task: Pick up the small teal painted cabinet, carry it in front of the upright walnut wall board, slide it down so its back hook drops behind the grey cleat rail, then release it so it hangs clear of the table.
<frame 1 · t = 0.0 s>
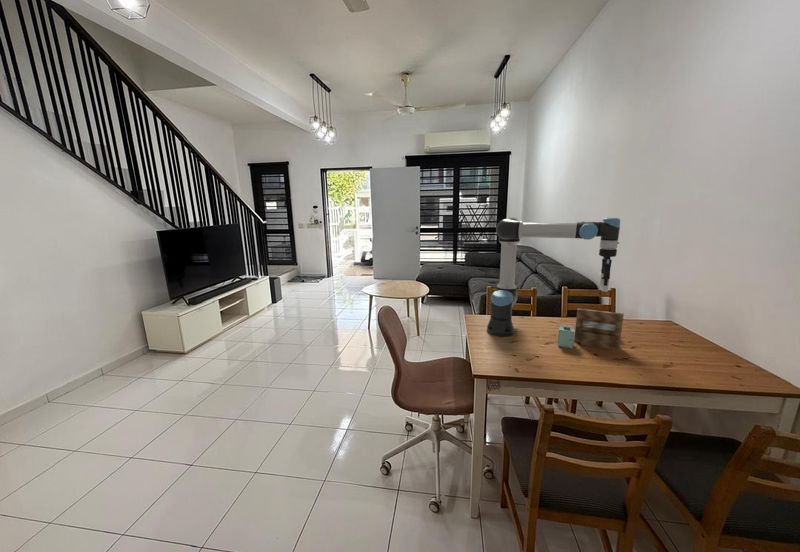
hand: (603, 288, 167), 28 cm above the table, fingers open, 13 cm apart
wall board: (596, 344, 165), on the table
cabinet: (565, 345, 165), on the table
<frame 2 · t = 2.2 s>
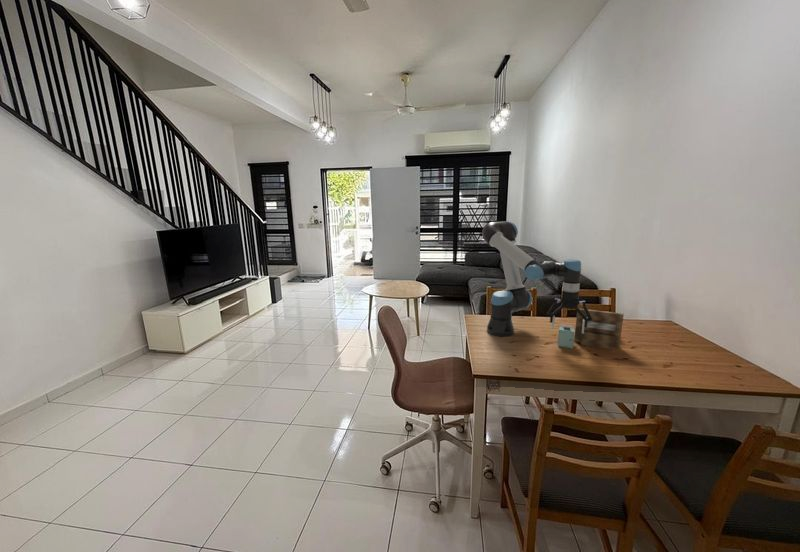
hand: (567, 330, 163), 8 cm above the table, fingers open, 13 cm apart
nothing on the table moved.
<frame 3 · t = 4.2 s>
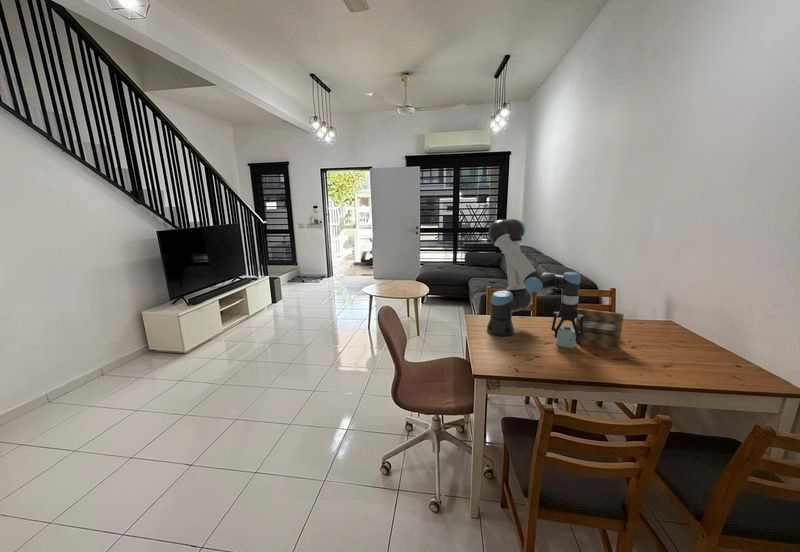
hand: (565, 344, 165), 0 cm above the table, fingers closed on cabinet, 7 cm apart
cabinet: (565, 345, 165), on the table, touching gripper
everything else where it was.
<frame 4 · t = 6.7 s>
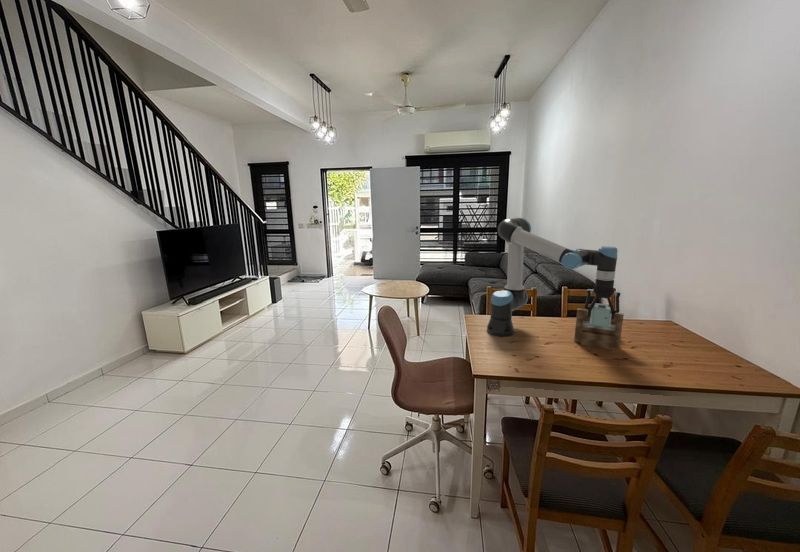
hand: (599, 324, 157), 14 cm above the table, fingers closed on cabinet, 7 cm apart
cabinet: (599, 324, 157), point 13 cm above the table, touching gripper
everything else where it was.
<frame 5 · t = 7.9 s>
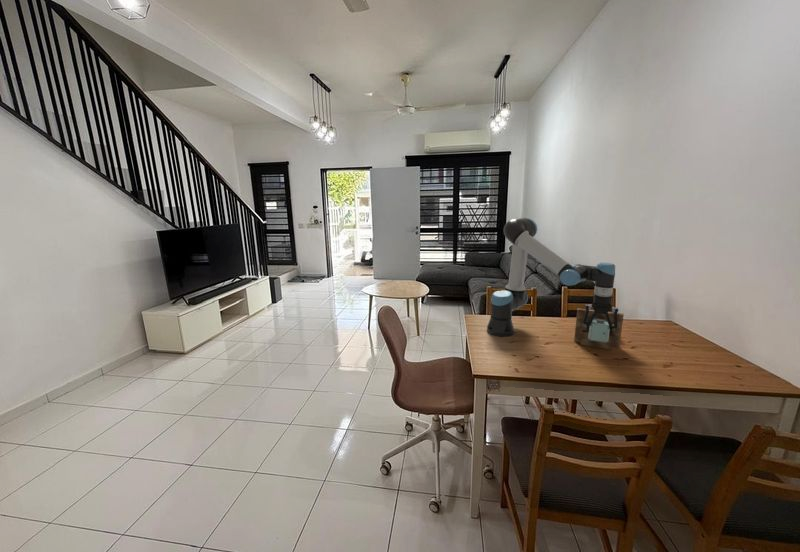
hand: (598, 339, 158), 6 cm above the table, fingers closed on cabinet, 7 cm apart
cabinet: (597, 339, 159), point 5 cm above the table, touching gripper
everything else where it was.
when the fingers open (5 cm above the table, at t = 8.9 s): cabinet stays where it is, resting on wall board.
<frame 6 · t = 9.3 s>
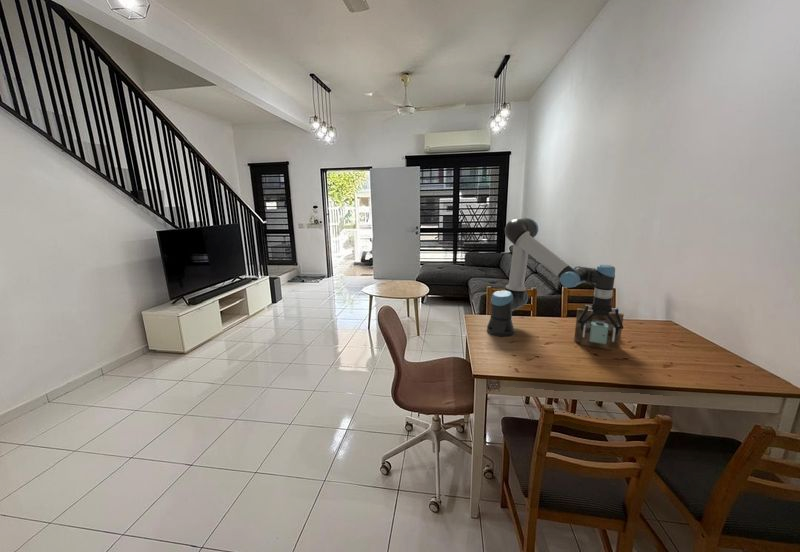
hand: (597, 338, 158), 6 cm above the table, fingers open, 12 cm apart
cabinet: (597, 340, 159), point 5 cm above the table, touching wall board
everything else where it was.
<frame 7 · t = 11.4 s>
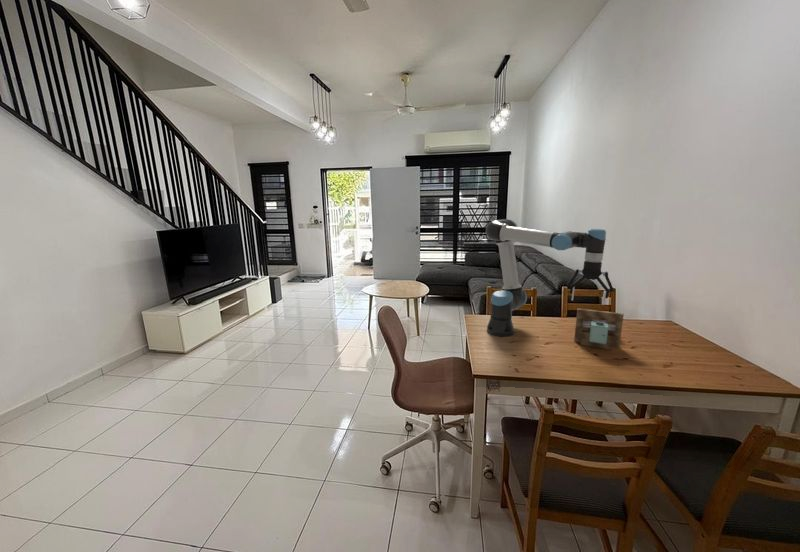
hand: (587, 302, 161), 23 cm above the table, fingers open, 13 cm apart
nothing on the table moved.
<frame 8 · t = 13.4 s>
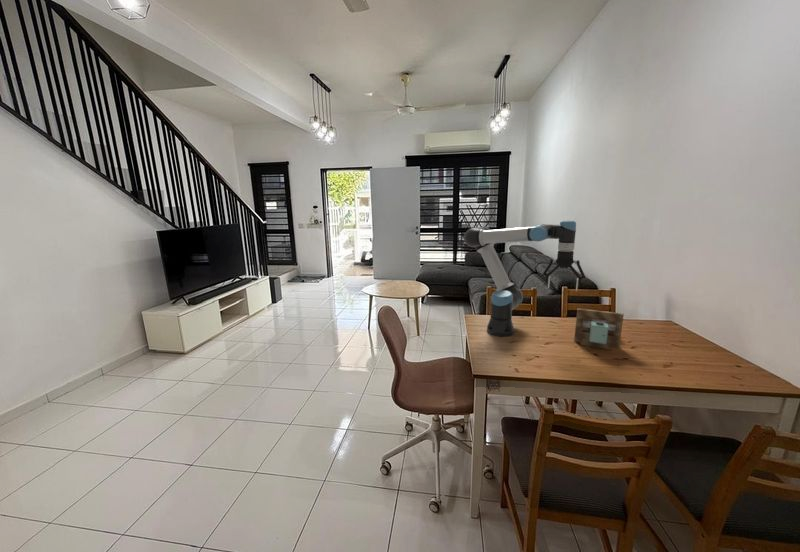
hand: (562, 289, 172), 27 cm above the table, fingers open, 13 cm apart
nothing on the table moved.
at the end: cabinet 1.0 cm from the target spot on the wall board, point 4.6 cm above the wall board's base; cabinet tilted 5°; the gripper is holding nothing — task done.
